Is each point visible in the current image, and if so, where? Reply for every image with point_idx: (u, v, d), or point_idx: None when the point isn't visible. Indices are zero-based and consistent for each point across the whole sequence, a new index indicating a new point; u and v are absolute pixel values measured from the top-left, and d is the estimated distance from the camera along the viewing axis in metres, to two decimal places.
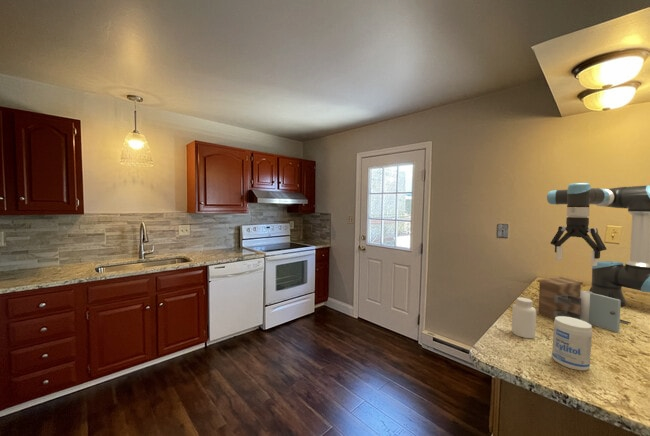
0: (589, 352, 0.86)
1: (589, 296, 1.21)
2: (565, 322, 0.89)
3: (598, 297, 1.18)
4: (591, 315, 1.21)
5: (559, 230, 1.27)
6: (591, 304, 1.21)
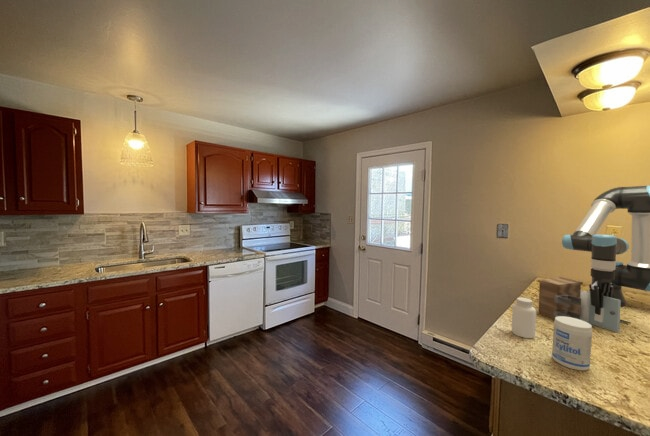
0: (589, 352, 0.86)
1: (589, 296, 1.21)
2: (565, 322, 0.89)
3: None
4: (591, 315, 1.21)
5: None
6: None
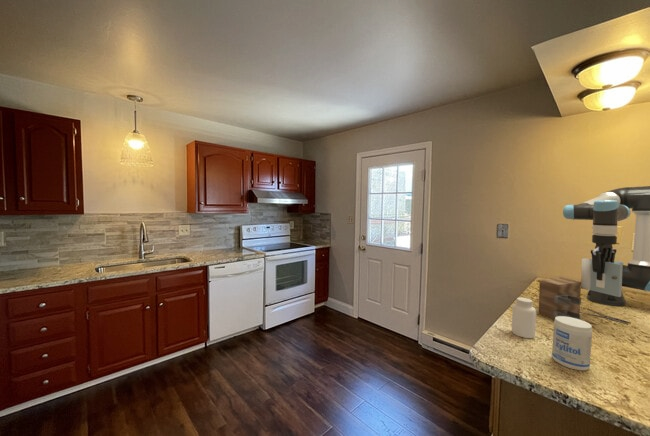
0: (589, 352, 0.86)
1: (591, 263, 1.21)
2: (565, 322, 0.89)
3: None
4: (593, 282, 1.20)
5: None
6: None
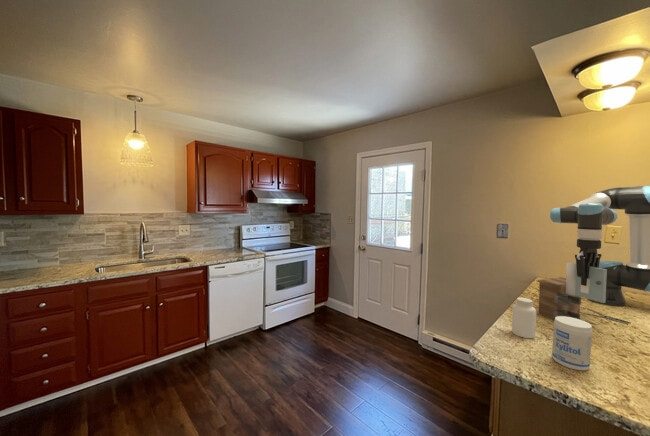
0: (589, 352, 0.86)
1: (575, 267, 1.18)
2: (565, 322, 0.89)
3: None
4: (577, 287, 1.18)
5: None
6: (577, 276, 1.18)
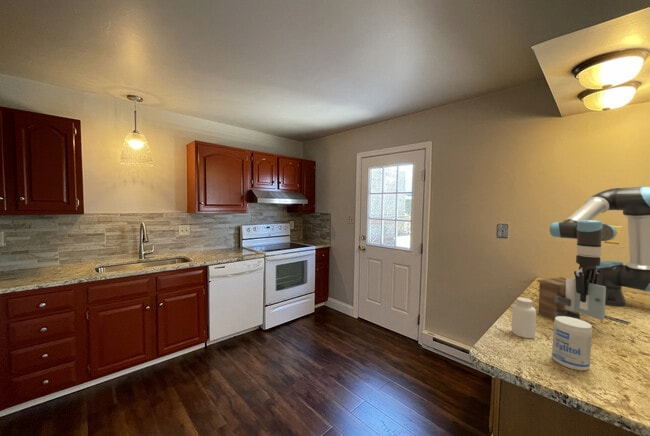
0: (589, 352, 0.86)
1: (575, 283, 1.18)
2: (565, 322, 0.89)
3: None
4: (576, 303, 1.18)
5: None
6: (576, 292, 1.18)
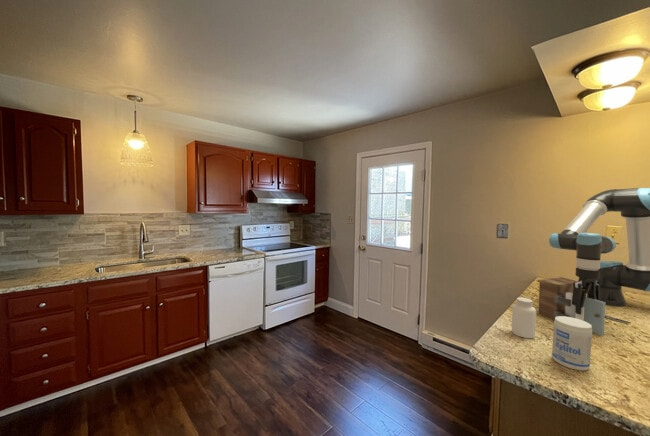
0: (589, 352, 0.86)
1: None
2: (565, 322, 0.89)
3: None
4: None
5: None
6: None
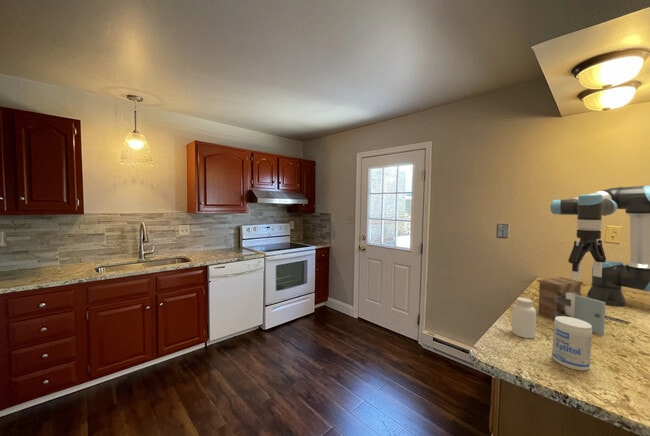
0: (589, 352, 0.86)
1: (574, 298, 1.19)
2: (565, 322, 0.89)
3: (583, 299, 1.16)
4: (576, 318, 1.18)
5: None
6: (576, 306, 1.18)
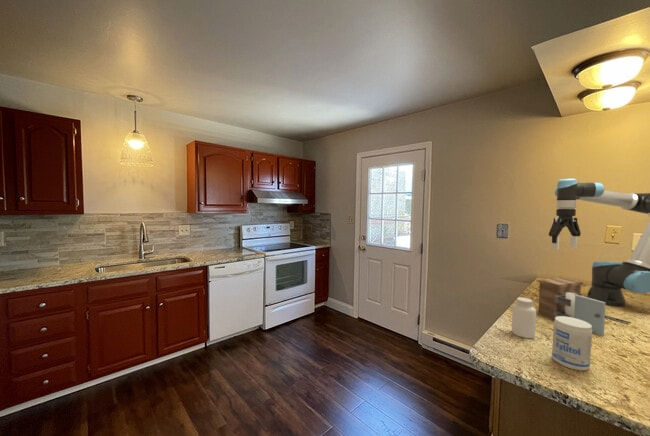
0: (589, 352, 0.86)
1: (574, 298, 1.19)
2: (565, 322, 0.89)
3: (583, 299, 1.16)
4: (576, 318, 1.18)
5: None
6: (576, 306, 1.18)
